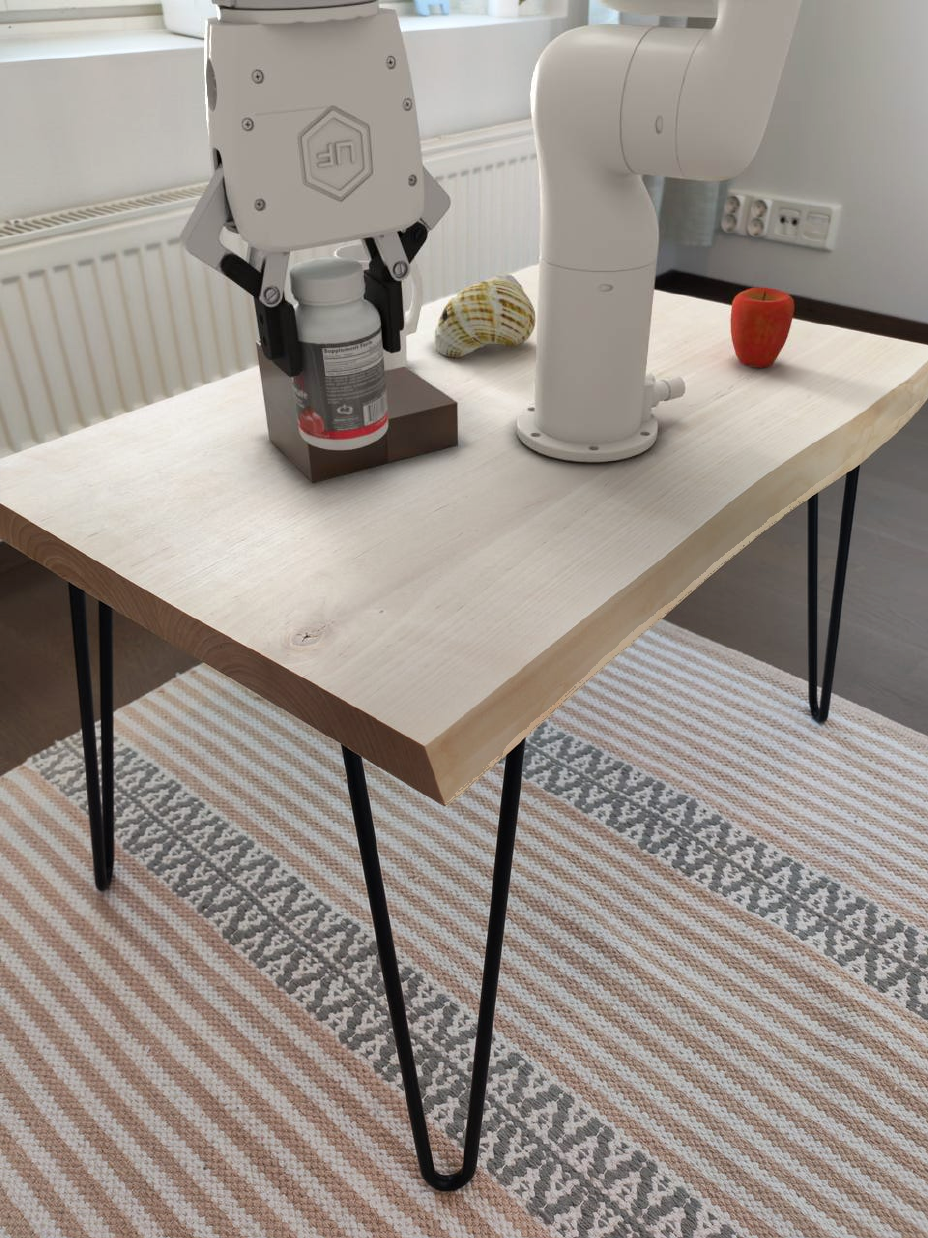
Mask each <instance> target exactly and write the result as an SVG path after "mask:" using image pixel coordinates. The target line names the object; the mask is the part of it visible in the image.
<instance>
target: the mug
mask: <svg viewBox="0 0 928 1238" xmlns="http://www.w3.org/2000/svg"><path fill="white" fill-rule="evenodd" d="M333 257H339V258H347V259H352V260H355V261H357V262H359V263H360V264H361V265H362V268H363V270H367V269H369V263H370V262H369V259H368V257H367V254H366V252H365V249H364V247H363V244H362V242H361V243H360V242H359V243H358V242H357V243H353V244H347V245H343V246H341V247H339V248H337V249H335V250H334V252H333ZM415 257H416V256H415ZM415 257H414V259H413V260H412V262H411V263H410V264H409V265H410V272H409V275H408V277H409V278H410V282H411V286H412V297H411V303H410V307H409V310H408V312H407V314H406V278H405V279H404V280H402V295H403V311H404V329H403V330H402V331H400V341H401V350H400V351H399V352H395V353H390V352H387V351H385V350H384V349H383V358H384V370H385V371H386V370H391V369H396V368H400V367H406V368H408V365H407V360H408V359H407V336H409V335H411V334H412V335H413V334H415V333H416V332H417V330H418V324H419V320H420V315H421V310H422V304H423V297H424V296H423V295H424V286H423V279H422V275H421V274H422V273H421V272H420V269H419V267H418V264H417V261H416V258H415ZM363 275H364V271H363ZM362 299H364V297H363V296H362Z"/></svg>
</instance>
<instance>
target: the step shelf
mask: <svg viewBox="0 0 928 1238" xmlns="http://www.w3.org/2000/svg"><path fill="white" fill-rule="evenodd" d="M255 345H256V353H257V360H258V368H259V374H260V375H259V376H260V382H261V389H262V396H263V404H264V411H265V412H264V413H265V419H266V425H267V432H268V439H269V440H270V441H271V442H272V443H273V444H274V445H275V446H276V447H277V448H278V449H279V450H280V451H281V453H283V454H284V455H285V457H286V458H287V459H288V460H289V461H290V462H291V463H292V464H293V465H295V467H296V468H297V469H298V470H299V471H300V472H301V473H302V474H303V475H304V476H305V477H306V479H308V480H309V481H311V483H317V482H321V481H325V480H328V479H331V478H332V479H333V478H336V477H340V476H344V475H347V474H351V473H355V472H358V471H363V470H366V469H367V470H368V469H371V468H375V467H378V466H382V465H386V464H388V463H393V462H397V461H400V460H404V459H408V458H411V457H415V456H418V455H423V454H427V453H430V452H434V451H439V450H442V449H446V448H450V447H455V446H458V445H459V414H458V412H459V411H458V409H459V408H458V407H459V405H458V402H457V401H456V400H455V399H453V398H452V397H450V396H449V395H447V394H446V393H445V392H443V391H442V390H441V389H439V388H437V387H436V386H434V385H433V384H431V383H430V382H428V381H427V380H425V379H424V378H422V377H421V376H420V375H418V374H416V373H415V372H414V371H412V370H411V369H410V368H408V367H400V368H396V369H391V370H386V371H385V383H386V395H387V409H388V429H387V431H386V433H385V434H384V435H383V436H382V437H381V438H380V439H378V440H377V441H375V442H373V443H371V444H369V445H366V446H363V447H360V448H356V449H350V450H329V449H323V448H319V447H316V446H313V445H311V444H309V443H308V442H306V441H305V440H304V439H303V438H302V436H301V435H300V431H299V425H298V420H297V413H296V405H295V398H294V391H293V383H292V377H289V376H288V375H287V374H285V373H284V372H283V371H282V370H281V369H280V368H279V367H277V366H276V365H275V364H274V363H273V362H272V360H268V359H267V358H266V357H265V355H264V354H263V351H262V348H261V343H260V340H256V341H255Z"/></svg>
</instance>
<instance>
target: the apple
mask: <svg viewBox="0 0 928 1238" xmlns="http://www.w3.org/2000/svg"><path fill="white" fill-rule="evenodd" d="M794 312H795V300H794V298H793V297H792V296H791V295H789V294H788V293H787V292H784V291H782V290H777V289H774V288H769V287H759V286H756V287H752V288H748V289H745V290H743V291H740V292H739V293H738V294H736V295H735V296H734V298H733V299H732V303H731V310H730V318H729V319H730V320H729V321H730V336H731V343H732V346H733V350H734V352H735V356H736V358H737V360H738V361H739V362H740V363H741V364H743V365H745V366H748V367H754V368H758V369H763V368H768V367H770V366H772V365H773V364H774V363H775V362H776V360H777V359H778V357H779V356H780V354H781V352H782V350H783V348H784V346H785V345H786V342H787V339H788V337H789V333H790V329H791V326H792V322H793V318H794Z"/></svg>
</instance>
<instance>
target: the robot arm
mask: <svg viewBox="0 0 928 1238" xmlns="http://www.w3.org/2000/svg"><path fill="white" fill-rule="evenodd" d="M597 1H598V3H600V4H601V5H603V6H605V7H606V8H608V9H611V10H614V11H616V12H620V13H626V14H633V15H643V16H654V17H655V16H657V17H675V18H676V17H677V18H678V17H680V18H706V19H707V18H709V19H711V18H712V19H716V21H715V24H714V26H713V27H712V28H695V27H671V26H670V27H669V26H667V27H666V26H662V25H650V24H648V25H646V24H621V23H598V24H597V23H596V24H587V25H582V26H578V27H575V28H572V29H569V30H566V31H565V32H563V33H561V34H560V35H558V36H557V37H555V38H553V40H551V41H550V42H549V44H547V46H546V47H545V48H544V49H543V50H542V52H541V54H540V55H539V58H538V60H537V61H536V64H535V67H534V71H533V75H532V78H531V85H530V86H531V87H530V115H531V124H532V131H533V137H534V138H533V139H534V143H535V151H536V159H537V160H536V161H537V166H538V179H539V202H540V203H539V204H540V206H539V207H540V210H539V214H540V215H539V217H540V218H539V219H540V220H539V253H538V256H539V258H538V286H537V287H538V288H537V289H538V290H537V291H538V292H537V318H536V323H537V324H536V349H535V350H536V352H535V381H534V382H535V384H534V402H533V403H531V404H529V405H527V406H526V407H525V408H523V409H522V410H521V412H520V413H519V414H518V416H517V418H516V434H517V437H518V438H519V439H520V441H521V442H522V444H524V445H525V446H527V447H528V448H529V449H530V450H533V451H535V452H537V453H539V454H541V455H544V456H546V457H550V458H553V459H558V460H562V461H568V462H575V463H576V462H577V463H606V462H607V463H608V462H617V461H620V460H625V459H629V458H632V457H635V456H638V455H640V454H642V453H644V452H645V451H647V450H648V449H650V448H651V447H652V446H653V445H654V444H655V442H656V440H657V438H658V432H659V424H658V423H659V422H658V420H657V419H656V416H654V414H653V413H652V408H657V406H659V404H660V402H667V401H672V400H675V399H678V398H681V397H683V396H684V395H685V393H686V384H685V381H684V379H683V378H682V377H681V376H680V375H679V376H678V375H677V376H673V377H669V378H666V379H660V380H659V381H656V377H655V375H654V374H653V373H650V372H649V373H647V364H648V356H649V355H648V353H649V344H650V333H651V324H652V316H653V315H652V313H653V304H654V303H653V302H654V295H655V284H656V275H657V265H658V256H659V248H660V247H659V245H660V229H659V228H660V227H659V222H658V216H657V212H656V209H655V206H654V204H653V203H654V202H653V201H652V199H651V196H650V194H649V192H648V189H647V188H646V185H645V183H644V182H643V179H642V177H641V175H647V176H654V177H655V176H656V177H663V178H673V179H679V180H680V179H682V180H688V181H689V180H691V181H700V182H722V181H728V180H730V179H733V178H735V177H737V176H739V175H740V174H741V173H743V172H744V171H745V170H746V169H747V167H749V165H750V164H751V162H752V161H753V160H754V158H755V156H756V154H757V152H758V150H759V148H760V145H761V143H762V141H763V137H764V134H765V132H766V129H767V126H768V123H769V119H770V117H771V112H772V110H773V106H774V102H775V99H776V95H777V91H778V88H779V84H780V81H781V77H782V73H783V70H784V67H785V64H786V59H787V56H788V52H789V49H790V46H791V42H792V38H793V34H794V31H795V28H796V24H797V20H798V18H799V13H800V10H801V6H802V3H803V0H597ZM211 3H212V4H213V5H216V11H217V16H215V17H209V18H207V19H205V30H204V31H205V32H204V33H205V34H204V83H205V84H204V86H205V106H206V107H205V111H206V124H207V136H208V149H209V159H210V166H211V175H212V177H211V179H210V181H208V184H207V186H206V188H205V189H204V191H203V193H202V194H201V197H200V199H199V200H198V202H197V204H196V206H195V208H194V209H193V211H192V213H191V215H190V217H189V219H187V222H186V224H185V226H184V227H183V229H182V230H181V233H180V234H179V244H180V246H181V248H183V249H184V250H185V251H186V252H187V253H189V254H190V255H192V256H193V257H195V258H196V259H198V260H200V261H201V262H203V263H204V264H206V265H207V266H208V267H210V268H212V269H214V270H215V271H217V272H218V273H220V274H222V275H223V276H225V277H226V278H228V279H229V280H231V282H233V283H235V285H237V286H239V287H240V288H241V289H243V290H244V291H246V293H248V294H249V295H251V296H252V298H253V303H254V309H255V316H256V322H257V323H256V324H257V329H258V335H259V341H260V343H261V348H262V351H263V354H264V355H265V357H266V358H267V359H268V360H272V362H273V363H274V364H275V365H276V366H277V367H279V368H280V369H281V370H282V371H283V372H284V373H285V374H287V375H288V376H289V377H294V376H298V375H300V372H302V363H301V355H300V348H299V340H298V332H297V325H296V317H295V310H294V307H293V306H294V304H292V303H291V302H289V301H288V300H287V299H286V293H285V286H286V285H285V284H286V279H287V272H288V269H289V262H290V256H291V255H290V254H291V252H296V251H301V250H308V249H313V248H319V247H324V246H329V245H336V244H341V243H345V242H352V241H357V240H360V242H361V243H362V244H363V247H364V249H365V252H366V254H367V257H368V259H369V262H370V263H369V269H367V270H363V271H364V275H363V276H364V282H365V293H364V295H363V297H364V299H365V300H367V301H369V302H370V303H372V304H373V305H374V306H375V307H376V309H377V310H378V312H379V315H380V321H381V333H382V339H383V344H382V345H383V349H384V350H385V351H387V352H390V353H395V352H399V351H400V350H401V341H400V331H402V330H403V329H404V311H403V295H402V280H404V279H405V280H406V279H407V278H408V277H409V272H410V265H409V264H410V263H411V262H412V260H413V259H414V257H416V256H417V254H418V253H419V252H420V251H421V249H422V248H423V246H424V244H425V243H426V241H427V239H428V236H429V232H430V231H432V230H434V228H435V227H436V225H438V223H439V222H440V220H441V219H442V218H443V217H444V216H445V214H446V213H447V212H448V210H449V209H450V207H451V203H452V199H451V197H450V195H449V194H448V193H447V191H445V189H444V188H443V187H442V186H441V185H440V183H439V182H438V181H437V180H436V179H435V178H434V177H433V175H432V174H431V173H430V172H429V171H428V170H427V168H426V167H425V166H424V165H423V154H422V144H421V136H420V128H419V121H418V113H417V112H418V111H417V106H416V99H415V92H414V87H413V81H412V75H411V71H410V66H409V60H408V56H407V51H406V47H405V42H404V38H403V34H402V29H401V25H400V21H399V17H398V14H397V13H398V12H397V10H396V9H392V8H386V7H385V8H384V7H380V1H379V0H211ZM223 228H225V229H226V230H228V231H229V232H231V233H234V234H237V235H239V236H240V238H241V239H242V240H243V241H244V242H246V243H247V244H248V245H247V249H246V250H247V251H246V257H245V259H244V258H243V257H240V255H238V254H237V253H236V252H234V251H233V250H231V249H229V248H228V247H227V246H225V245H224V244H222V243H221V240H220V235H221V232H222V230H223Z"/></svg>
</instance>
